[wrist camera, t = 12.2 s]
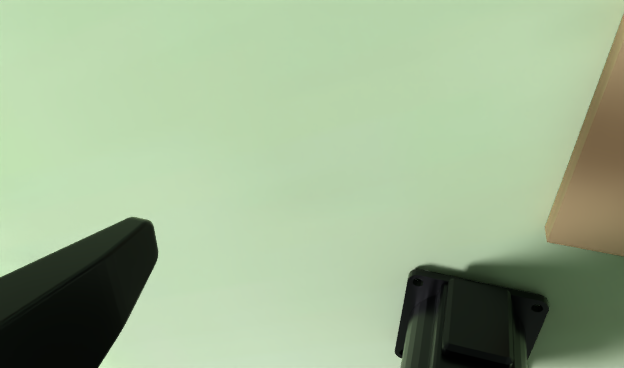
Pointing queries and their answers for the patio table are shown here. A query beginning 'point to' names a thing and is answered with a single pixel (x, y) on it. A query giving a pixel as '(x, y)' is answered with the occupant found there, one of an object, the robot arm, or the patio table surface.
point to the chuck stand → (596, 169)
